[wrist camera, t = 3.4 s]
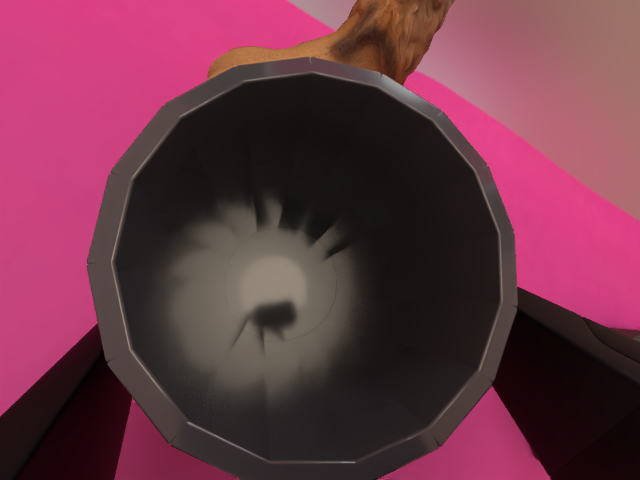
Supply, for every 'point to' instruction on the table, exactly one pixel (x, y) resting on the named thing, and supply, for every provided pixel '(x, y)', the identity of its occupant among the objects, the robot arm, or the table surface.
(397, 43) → the lion figurine
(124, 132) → the table surface
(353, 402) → the pen pot
